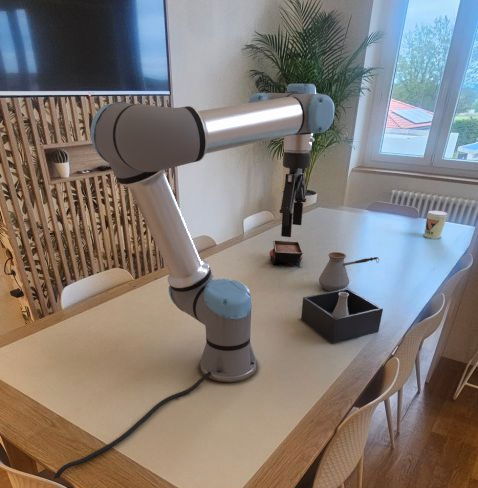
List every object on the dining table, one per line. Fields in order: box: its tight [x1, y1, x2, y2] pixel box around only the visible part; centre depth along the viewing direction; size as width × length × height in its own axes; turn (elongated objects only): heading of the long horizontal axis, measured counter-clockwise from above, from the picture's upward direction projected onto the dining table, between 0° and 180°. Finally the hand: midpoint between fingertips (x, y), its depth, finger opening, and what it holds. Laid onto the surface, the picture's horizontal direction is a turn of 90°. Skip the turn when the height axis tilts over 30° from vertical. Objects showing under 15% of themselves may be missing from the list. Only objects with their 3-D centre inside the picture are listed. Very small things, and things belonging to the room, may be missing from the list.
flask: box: [332, 292, 349, 318], centre depth 137 cm, size 7×7×10 cm
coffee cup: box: [423, 210, 448, 240], centre depth 222 cm, size 9×9×12 cm
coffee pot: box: [318, 251, 380, 292], centre depth 160 cm, size 21×12×15 cm, turn 54°
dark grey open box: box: [300, 287, 384, 344], centre depth 138 cm, size 18×18×8 cm
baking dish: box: [269, 239, 304, 268], centre depth 188 cm, size 14×18×10 cm
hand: (291, 230), depth 129 cm, fingers open, 13 cm apart
